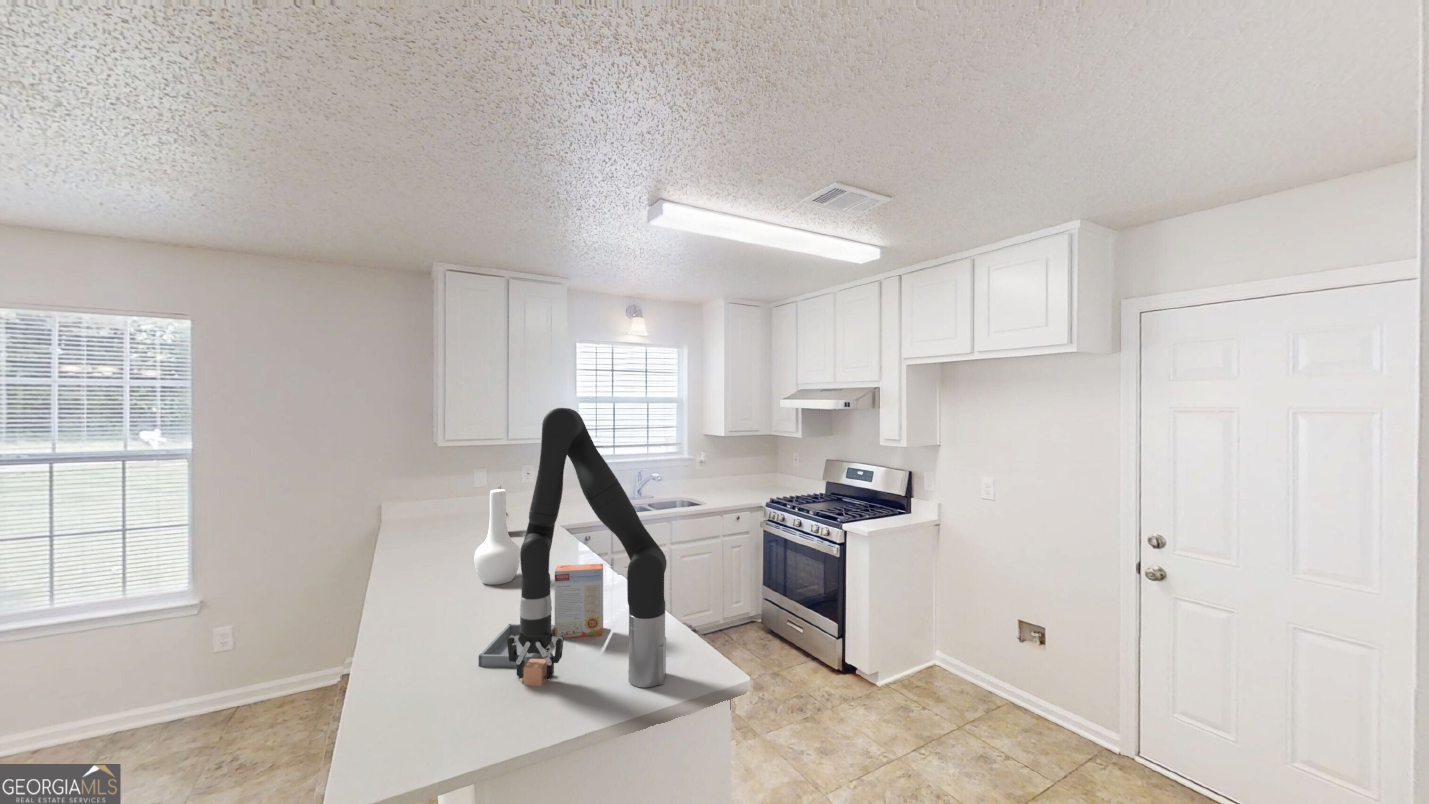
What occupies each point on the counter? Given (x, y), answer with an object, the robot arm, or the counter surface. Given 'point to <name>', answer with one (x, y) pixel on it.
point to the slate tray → (505, 649)
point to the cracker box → (579, 600)
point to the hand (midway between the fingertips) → (535, 677)
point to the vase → (497, 546)
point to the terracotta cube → (535, 672)
